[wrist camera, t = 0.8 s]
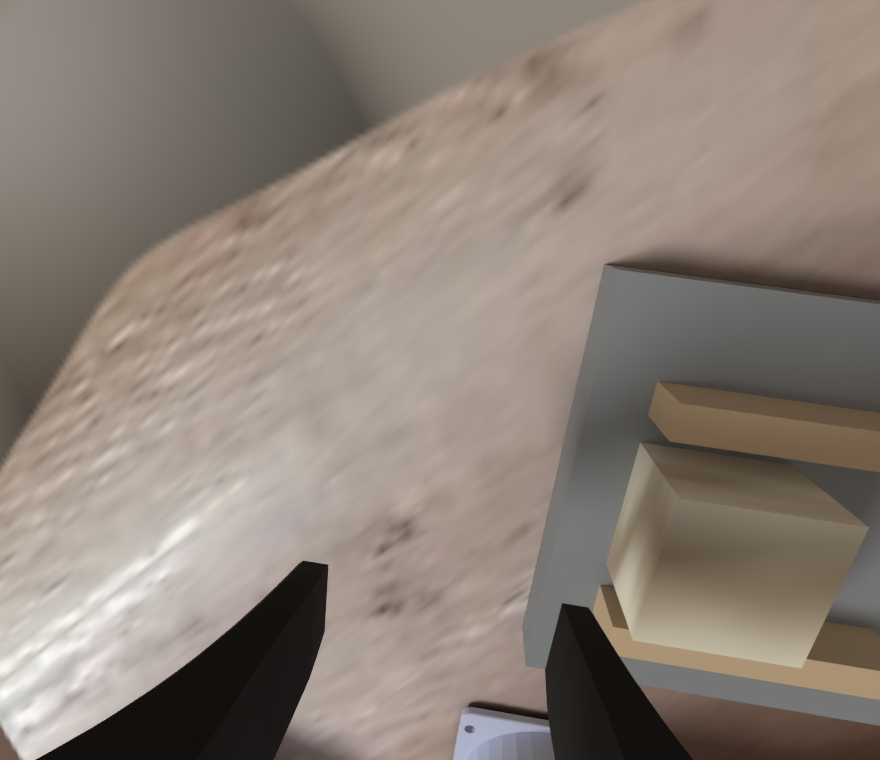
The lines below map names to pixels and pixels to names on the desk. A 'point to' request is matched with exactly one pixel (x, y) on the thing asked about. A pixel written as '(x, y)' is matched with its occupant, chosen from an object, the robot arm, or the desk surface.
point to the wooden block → (729, 555)
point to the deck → (728, 433)
